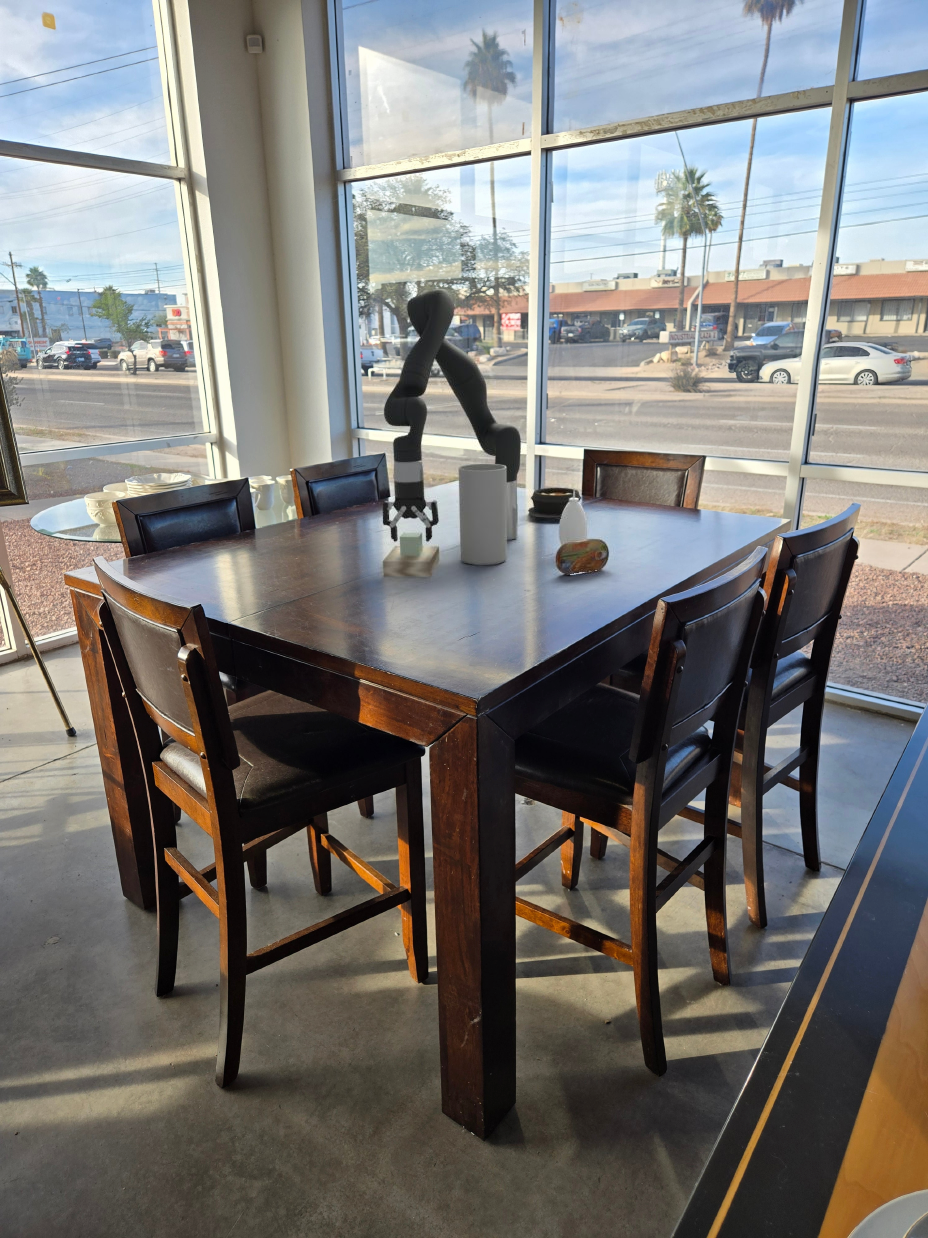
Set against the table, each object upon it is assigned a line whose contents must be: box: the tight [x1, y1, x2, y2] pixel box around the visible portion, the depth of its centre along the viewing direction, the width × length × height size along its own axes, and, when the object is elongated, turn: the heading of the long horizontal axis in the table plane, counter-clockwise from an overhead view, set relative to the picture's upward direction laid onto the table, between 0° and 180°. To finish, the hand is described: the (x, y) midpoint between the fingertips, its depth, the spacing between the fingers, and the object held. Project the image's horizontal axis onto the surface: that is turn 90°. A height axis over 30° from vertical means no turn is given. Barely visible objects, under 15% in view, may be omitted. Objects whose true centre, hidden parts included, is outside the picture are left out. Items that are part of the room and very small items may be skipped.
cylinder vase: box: [458, 463, 508, 566], centre depth 211 cm, size 12×12×25 cm
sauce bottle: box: [558, 488, 589, 546], centre depth 217 cm, size 8×8×18 cm
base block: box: [382, 545, 440, 578], centre depth 208 cm, size 12×16×4 cm
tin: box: [555, 538, 610, 576], centre depth 201 cm, size 15×3×8 cm, turn 117°
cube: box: [399, 532, 424, 556], centre depth 207 cm, size 5×5×5 cm
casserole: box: [527, 487, 582, 519], centre depth 267 cm, size 25×19×8 cm
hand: (411, 540), depth 207 cm, fingers open, 8 cm apart
